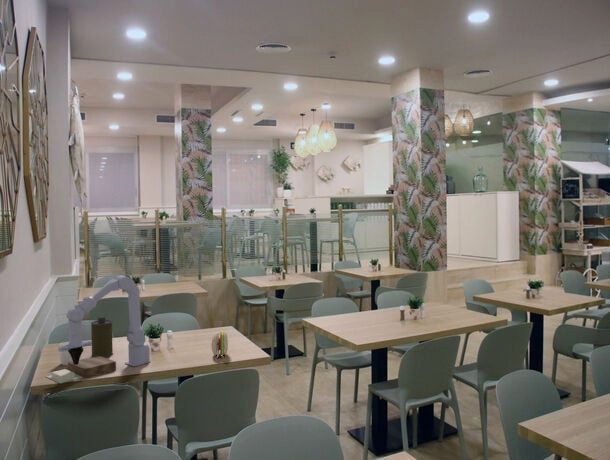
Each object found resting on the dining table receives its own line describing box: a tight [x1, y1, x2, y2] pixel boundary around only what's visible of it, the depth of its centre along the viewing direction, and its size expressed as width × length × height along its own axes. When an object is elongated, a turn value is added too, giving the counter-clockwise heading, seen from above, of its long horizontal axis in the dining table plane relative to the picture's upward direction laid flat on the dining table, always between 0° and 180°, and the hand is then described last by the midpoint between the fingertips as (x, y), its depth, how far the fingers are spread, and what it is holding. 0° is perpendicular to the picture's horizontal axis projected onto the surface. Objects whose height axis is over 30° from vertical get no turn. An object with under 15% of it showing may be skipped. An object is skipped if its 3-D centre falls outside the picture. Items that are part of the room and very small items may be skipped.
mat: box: [45, 374, 84, 384], centre depth 231 cm, size 10×14×1 cm
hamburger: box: [211, 329, 229, 359], centre depth 266 cm, size 12×8×12 cm
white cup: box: [58, 341, 73, 366], centre depth 253 cm, size 8×8×10 cm
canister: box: [90, 315, 114, 358], centre depth 267 cm, size 11×10×20 cm
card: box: [51, 368, 75, 381], centre depth 231 cm, size 6×9×2 cm, turn 50°
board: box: [67, 356, 117, 379], centre depth 241 cm, size 15×16×4 cm
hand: (75, 364), depth 235 cm, fingers closed
